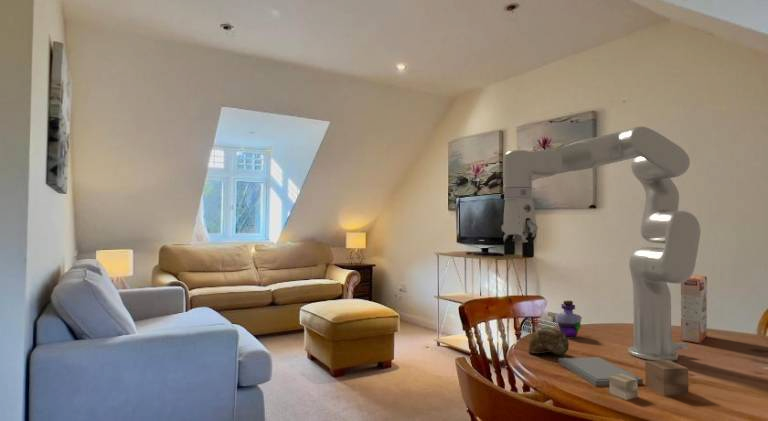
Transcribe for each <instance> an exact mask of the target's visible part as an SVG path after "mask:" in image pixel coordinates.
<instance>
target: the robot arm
mask: <svg viewBox="0 0 768 421" xmlns="http://www.w3.org/2000/svg"><path fill="white" fill-rule="evenodd" d="M630 159H632V161H631V168H630V169H631V171H632V174H633V175H634V176H635V179H637V180H638V181H639V182H640V184H641V185H642V187H643V189H644V192H645V201H644V202H645V204H644V208H643V214H642V219H641V226H640V234H641V237H642V238H643V239H644V240H645V241H647V242H649V243H652V244H653V243H654V244H661V245H663V244H664V247H655V246H654V247H653V246H652V247H650V246H646V247H645V246H644V247H640V248H637V249H636V250H634V251H633V252H632V254H631V255H630V257H629V262H628V265H629V271H630V276H631V280H632V290H633V292H632V293H633V295H632V296H633V298H632V299H633V300H632V301H633V303H632V304H633V305H632V306H633V345H631V346H628V349H627V352H628V354H630V355H631V356H633V357H637V358H640V359H645V360H647V361H659V360H669V361H672V362H674V361H677V360H678V359H679V354H678V353H677V352H676V351H677V350H687V349H688V344H687V343H686V342H684V341H683V342H676V341H674V340H672V296H671V291H670V288H669V285H668V284H681V283H684V282H686V281H687V280H689V279H690V277H691V276H692V275H694V271H695V268H696V263H697V256H698V252H699V251H698V250H699V244H700V240H701V226H700V225H701V224H700V223H699V221H698V219H697V217H696V216H695V215H694V214H693V213H691V212H688V211H685V210H679V206H680V205H679V203H680V202H679V201H680V192H679V189H678V187H677V186H676V184H675V183H674V181H673V180H672V179H673V178H677V177H680V176H682V175H684V174H686V172H687V171H688V169H689V167H690V164H691V161H690V157H689V155H688V153H687V152H686V151H685V150H684V149H683V148H682V147H681V146H680V145H679V144H677V143H675V142H673V141H671V139H669V138H667V137H665V136H664V135H662V134H660V133H659V132H658V131H655V130H654V129H651V128H650V127H646V126H642V125H641V126H635V127H632V128H628V129H624V130H621V131H617V132H613V133H609V134H604V135H600V136H595V137H590V138H585V139H581V140H578V141H575V142H572V143H570V144H568V145H564V146H561V147H560V146H559V147H558V148H554V149H540V150H532V151H531V150H530V151H529V150H524V149H516V150H510V151H506V153H505V154H504V157H503V166H504V167H503V184H504V185H503V187H504V188H503V190H504V191H503V192H504V193H503V197H504V198H503V200H504V206H503V207H504V209H503V223H502V224H501V226H500V228H501V231H502V232H501V233H502V234H501V235H502V237H503V238H502V239H503V254H504V255H505V256H514V255H515V254H516V241H515V240H514V239H515V237H516V236H521V238H522V241H523V242H522V243H521V249H522V250H521V251H522V252H521V254H522V255H521V256H522V258H534V257H535V247H534V246H535V242H536V237H537V232H538V230H539V229H538V228H539V227H538V225H537V223H536V222H537V220H536V209H535V204H534V199H533V180H538V179H544V178H548V177H552V176H555V175H558V174H563V173H568V172H577V171H579V172H580V171H584V170H585V171H586V170H589V169H594V168H597V167H601V166H605V165H610V164H613V163H619V162H622V161H627V160H630Z"/></svg>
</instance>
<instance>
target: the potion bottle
mask: <svg viewBox="0 0 768 421" xmlns="http://www.w3.org/2000/svg"><path fill="white" fill-rule="evenodd" d="M561 309H562V310H563V312H560V313H556V314H555V320H556V324H557V325H558V330H560V331H561V332H562V333H563V334H564V335H565V336H566V337H576V336H577V337H578V333H579V330H580V329H581V326H582V325H581V324H582V323H581V322H582V318H583V317H582V316H581V315H579V314H577V313H575V312H574V310H576V305H575V304H574V301H572V300H563V302H562V304H561ZM577 337H576V338H577Z"/></svg>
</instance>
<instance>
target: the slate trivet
mask: <svg viewBox="0 0 768 421" xmlns="http://www.w3.org/2000/svg"><path fill="white" fill-rule="evenodd" d="M557 359H558V363H559V364H560V365H561V366H563V367H565V368H566V369H568V370H570V371H571V372H573V373H575V374H576V375H577V376H579V377H581V378H582V379H584V380H585V381H587V382H589V383H590V384H592V385H594V386H595V387H597V386H598V387H600V386H601V387H602V386H603V387H604V386H605V387H606V386H609V376H613V375H618V374H623V375H626V376H629V377H632V378H635V379H637V384H638V385H644V380H643V378H641V377H639V376H638V375H637V376H636V375H635V374H633V373H632V372H630V371H627V370H625V369H624V368H622V367H620V366H618V365H616V364H614V363H612V362H610V361H608V360H606V359H603V358H602V357H600V356H588V357H587V356H585V357H558V358H557Z"/></svg>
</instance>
